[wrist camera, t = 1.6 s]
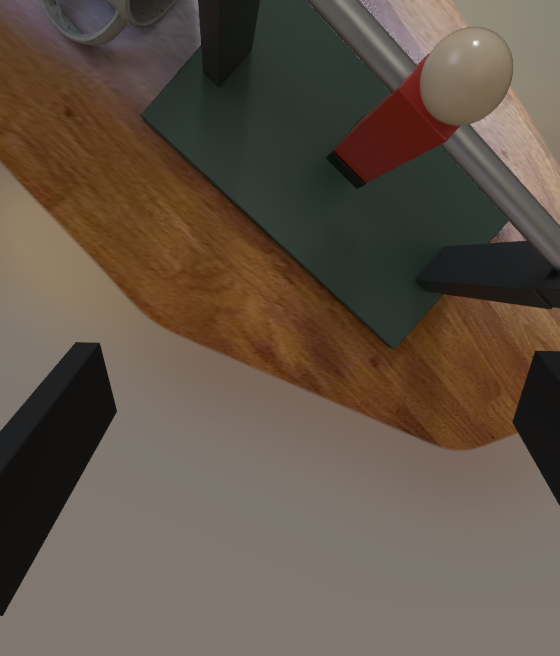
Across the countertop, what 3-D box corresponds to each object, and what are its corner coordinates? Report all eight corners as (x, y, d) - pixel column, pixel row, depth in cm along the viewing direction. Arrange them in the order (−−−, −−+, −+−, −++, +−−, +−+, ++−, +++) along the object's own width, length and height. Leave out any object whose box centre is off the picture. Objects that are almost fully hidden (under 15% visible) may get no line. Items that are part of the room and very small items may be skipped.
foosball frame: (143, 120, 33) (64, -31, 16) (269, -27, 33) (328, -340, 16) (389, 347, 38) (529, 416, 21) (500, 221, 38) (732, 189, 21)
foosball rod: (161, 3, 28) (94, -317, 12) (200, -42, 28) (181, -420, 12) (445, 286, 33) (646, 308, 17) (478, 249, 33) (709, 238, 17)
